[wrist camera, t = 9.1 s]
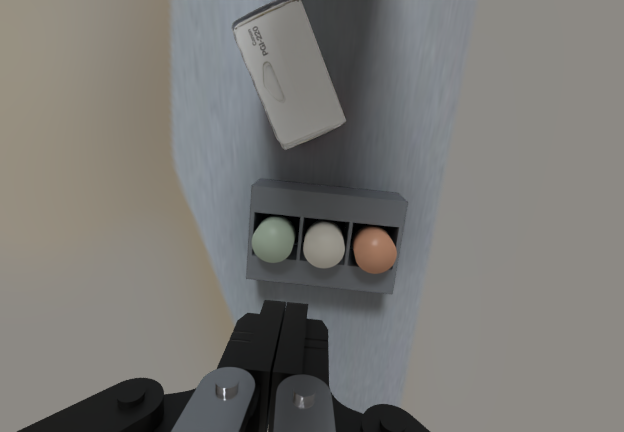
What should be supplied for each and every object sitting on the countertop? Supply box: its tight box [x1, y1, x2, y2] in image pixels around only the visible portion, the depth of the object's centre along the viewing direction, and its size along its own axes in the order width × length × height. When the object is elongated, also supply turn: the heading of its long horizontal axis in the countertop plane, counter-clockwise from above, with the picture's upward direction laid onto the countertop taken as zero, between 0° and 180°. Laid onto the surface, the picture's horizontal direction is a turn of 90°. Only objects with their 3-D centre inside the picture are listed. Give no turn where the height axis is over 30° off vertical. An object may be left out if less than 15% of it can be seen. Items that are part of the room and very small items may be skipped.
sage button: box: [252, 215, 296, 263], centre depth 32 cm, size 4×4×3 cm
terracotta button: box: [352, 225, 397, 274], centre depth 32 cm, size 4×4×3 cm
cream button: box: [303, 220, 345, 268], centre depth 32 cm, size 4×4×3 cm
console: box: [246, 179, 408, 294], centre depth 35 cm, size 9×14×4 cm, turn 84°
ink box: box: [232, 0, 346, 150], centre depth 28 cm, size 9×5×12 cm, turn 22°
